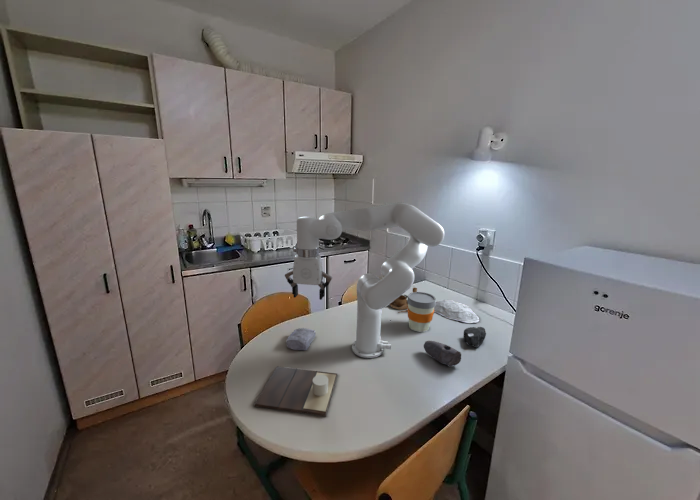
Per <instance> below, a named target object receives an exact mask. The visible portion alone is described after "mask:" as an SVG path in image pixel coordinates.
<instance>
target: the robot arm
mask: <svg viewBox="0 0 700 500" xmlns="http://www.w3.org/2000/svg"><path fill="white" fill-rule="evenodd" d="M396 227H397V228H398V227H399V228H400V229H402V230H404V231H405V232H407V233H408V234H409V236H408V240H407V242H406V243H405V245H404V246H403V247H402V248H400V249H399V250H398V251H397V252H395V253H394V254H393V255H391V256H390V257H389V258H387V259H385V261H383V263H382V264H381V266H380V274H381V277H382V278H380V277H379V276H378V275H376V274H374V273H371V272H367V273H364V274H362V275H361V276H360V277H359V278H358V280H357V282H356V302H357V303H356V305H357V306H356V307H357V308H356V310H357V311H356V330H355V331H356V335H355V340H354V341H353V342H352V344H351V351H352V352H353V353H354V355H356V356H358V357H360V358H365V359H373V358H377V357H379V356H381V355H382V354H383V352H384V349H385V350H391V349H392V344H391V343H389V341H388V340H383V339H382V336H381V327H382V315H383V314H382V312H383V309H384V308H386V307H388V306H390V305H389V304H390V303H392V302H393V301H394V300H396V299H397V298H398V297H400V296H401V295H404V294H405V293H407V291H408V290H409V289H411V287H412V286H413V284H414V282H415V272H414V270H413V269H414V268H415V267H417V266H418V265H419V264H420V263H421V262H422V261H423V260H424V259H425V257H426V255H427V253H428V248H429V247H431V248H433V247H438V246H439V245H441V244H442V243H443V241H444V240H445V230H444V228H443V226H442V224H440V223H439V222H437V221H435V220H434V219H433V218H432V217H430V216H429V215H427V214H426V213H425V212H423V211H422V210H420V209H419V208H418V207H417V206H414V205H412V204H410V203H406V202H402V201H401V202H393V203H387V204H381V205H376V206H371V207H362V208H361V207H360V208H354V209H346V210H345V209H344V210H339V211H332V212H328V213H325V214H323V215H321V216H320V217H319V218H317V217H315V216H308V215H307V216H300V217H298V218H297V219H296V247H293V249H292V250H293V251H292V252H293V253H296V254H295V256H294V259H293V266H292V267H293V268H292V270H290V271H289V272H286V273H285V274H284V277H285V279H286V281H287V283H288V284H289V285H290V287H291V293H292V295H293V298H294V299H295V298H296V297H298V295H299V285H307V286H318V287H319V294H318V295H319V298H318V299H319V300H320V301H322V300H323V298H324V297H325V295H326V290H325V289H326V288H327V287H328V286H329V285H330V284H331V281H332V280H333V277H332V276H331V275H330V274H328V273H326V272H325V271H324V270H323V262H322V261H323V260H322V257H321V255H320V239H321V240H329V241H330V240H336V239H338V238H339V237H341V235H342V233H343V231H348V230H349V231H350V230H352V231H353V230H356V231H362V232H376V231H380V230H385V229H391V228H396ZM291 276H292V277H291ZM324 279H325V280H326V281H325V282H324V281H323V280H324Z"/></svg>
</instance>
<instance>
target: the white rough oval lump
mask: <svg viewBox="0 0 700 500" xmlns="http://www.w3.org/2000/svg"><path fill="white" fill-rule="evenodd" d="M434 313H435V314H438V315H440V316H442V317H443V318H446V319H450V320H455V321H459V322H461V323H467V324H477V323H478V322H479V321H480V317H479V316H478V315H477V314H476V313H475V312H474V310H473V309H472V308H471V307H470V306H468V305H467V304H464V303H462V302H458V301H455V300H452V299H439V300H437V301H436V305H435V307H434Z"/></svg>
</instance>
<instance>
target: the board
mask: <svg viewBox="0 0 700 500" xmlns="http://www.w3.org/2000/svg"><path fill="white" fill-rule="evenodd" d="M317 375H325V376H327V377H328V393H327V394H326V395H324V396H317V395H315V394H314V393H313V378H314V377H315V376H317ZM337 378H338V373H335V372H327V371H318V370H311V369H302V368H294V367H286V366H279V365H278V366H276V367H275V368H274V370H273V372H272V374H271V375H270V377H269V379H268V381H267V383H266V384H265V385H264V387H263V388H262V390H261V393H260V394H259V396H258V397H257V399H256V401H255V402H254V408H255V407H256V408H264V409H269V410H277V411H283V412H291V413H298V414H305V415H313V416H320V417H327V414H328V411H329V407H330V403H331V400H332V398H333V393H334V389H335V387H336V386H335V385H336V382H337Z"/></svg>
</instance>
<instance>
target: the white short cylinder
mask: <svg viewBox="0 0 700 500" xmlns="http://www.w3.org/2000/svg"><path fill="white" fill-rule="evenodd" d="M313 393H314V394H315V395H317V396H324V395H326V394H327V393H328V377H327V376H325V375H317V376H315V377H314V378H313Z"/></svg>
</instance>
